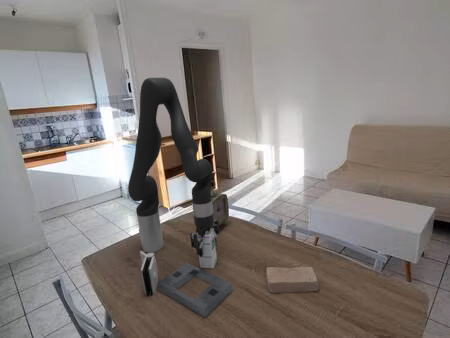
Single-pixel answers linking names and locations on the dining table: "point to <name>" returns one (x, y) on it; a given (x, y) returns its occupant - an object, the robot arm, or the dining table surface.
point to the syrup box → (208, 251)
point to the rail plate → (205, 299)
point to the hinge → (149, 273)
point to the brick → (291, 279)
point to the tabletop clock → (219, 206)
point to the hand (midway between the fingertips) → (207, 250)
